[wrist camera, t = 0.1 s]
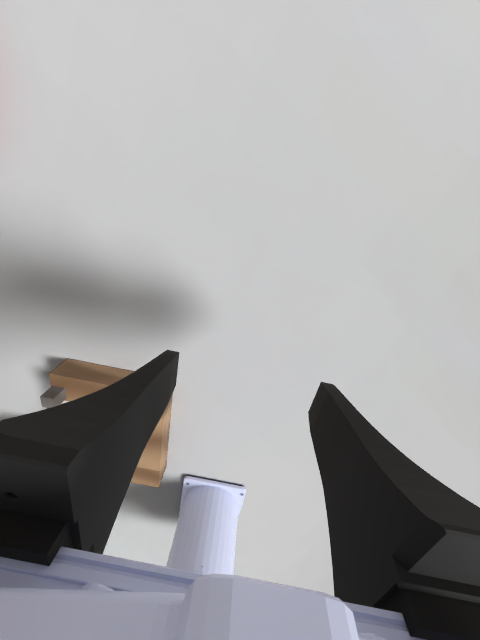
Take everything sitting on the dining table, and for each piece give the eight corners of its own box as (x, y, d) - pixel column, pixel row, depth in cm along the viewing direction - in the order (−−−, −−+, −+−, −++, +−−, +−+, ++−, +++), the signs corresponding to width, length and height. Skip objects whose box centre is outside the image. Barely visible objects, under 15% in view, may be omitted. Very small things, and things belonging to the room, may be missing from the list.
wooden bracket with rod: (166, 467, 31) (153, 501, 28) (79, 450, 31) (56, 482, 27) (173, 379, 25) (159, 407, 22) (67, 358, 25) (35, 383, 22)
